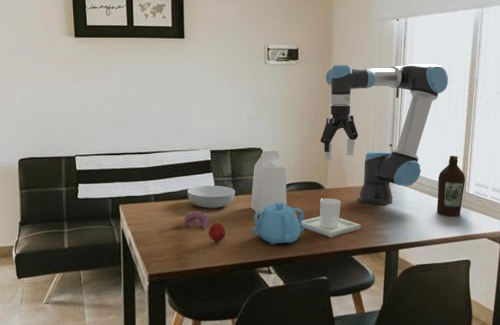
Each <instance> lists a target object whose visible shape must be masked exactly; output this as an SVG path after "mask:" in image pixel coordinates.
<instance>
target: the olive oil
mask: <svg viewBox="0 0 500 325" xmlns="http://www.w3.org/2000/svg"><path fill="white" fill-rule="evenodd" d="M458 160H459V159H458V156H457V155H450V156H449V160H448V165H447V166H446V167H444V168H443V169H442V170H441V171H440V173H439V175H438V181H437V182H438V183H437V184H438V185H437V191H438V192H437V207H436V208H437V209H436V211H437V214H439V215H442V216H447V217H457V216H458V217H459V216H461V211H462V203H463V197H464V196H463V194H464V189H465V184H466V183H465V182H466V177H465V173H464V172H463V171H462V170H461V168H460V167H459V166H458Z"/></svg>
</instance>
